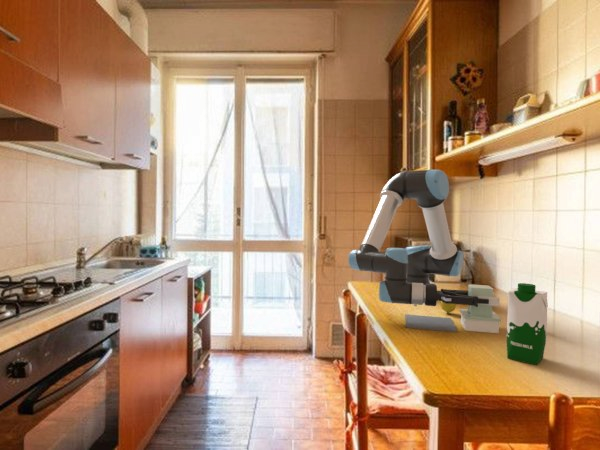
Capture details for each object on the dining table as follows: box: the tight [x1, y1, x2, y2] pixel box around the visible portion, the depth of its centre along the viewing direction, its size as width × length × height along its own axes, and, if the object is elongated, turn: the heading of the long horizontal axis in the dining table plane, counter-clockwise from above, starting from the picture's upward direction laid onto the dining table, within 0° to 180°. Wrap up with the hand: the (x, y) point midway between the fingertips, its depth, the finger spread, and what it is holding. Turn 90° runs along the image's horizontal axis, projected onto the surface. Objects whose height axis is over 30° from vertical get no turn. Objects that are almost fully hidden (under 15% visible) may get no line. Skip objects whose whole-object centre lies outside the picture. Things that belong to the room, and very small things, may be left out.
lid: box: [459, 283, 502, 323], centre depth 134 cm, size 11×11×10 cm
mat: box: [404, 313, 458, 333], centre depth 138 cm, size 16×16×1 cm
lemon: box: [440, 301, 457, 314], centre depth 153 cm, size 6×6×8 cm
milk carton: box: [506, 282, 548, 366], centre depth 106 cm, size 9×9×20 cm
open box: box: [460, 313, 500, 334], centre depth 134 cm, size 10×10×4 cm
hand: (496, 299), depth 133 cm, fingers closed on lid, 7 cm apart
